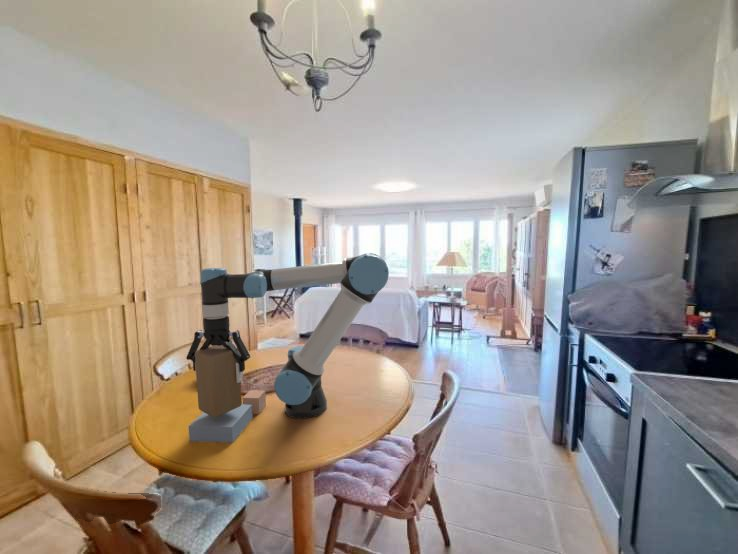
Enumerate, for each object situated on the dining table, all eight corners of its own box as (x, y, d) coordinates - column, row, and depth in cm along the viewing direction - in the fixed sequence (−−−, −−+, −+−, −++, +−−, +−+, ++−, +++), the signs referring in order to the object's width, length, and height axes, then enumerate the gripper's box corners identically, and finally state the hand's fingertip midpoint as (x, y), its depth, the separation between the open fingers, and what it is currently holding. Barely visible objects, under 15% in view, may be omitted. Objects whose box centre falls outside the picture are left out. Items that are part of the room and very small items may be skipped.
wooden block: (226, 398, 112) (223, 342, 110) (243, 406, 107) (240, 347, 104) (197, 410, 104) (193, 350, 102) (213, 419, 98) (209, 356, 96)
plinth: (252, 418, 113) (251, 404, 113) (232, 442, 99) (232, 427, 99) (214, 417, 114) (213, 403, 114) (189, 441, 100) (188, 425, 100)
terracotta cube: (266, 405, 122) (265, 390, 121) (259, 414, 116) (258, 398, 115) (250, 405, 122) (249, 390, 122) (243, 413, 117) (242, 397, 116)
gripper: (258, 314, 106) (261, 376, 108) (186, 313, 107) (190, 375, 110) (248, 319, 98) (251, 386, 100) (171, 318, 100) (175, 384, 102)
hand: (219, 380), depth 105 cm, fingers closed on wooden block, 13 cm apart
